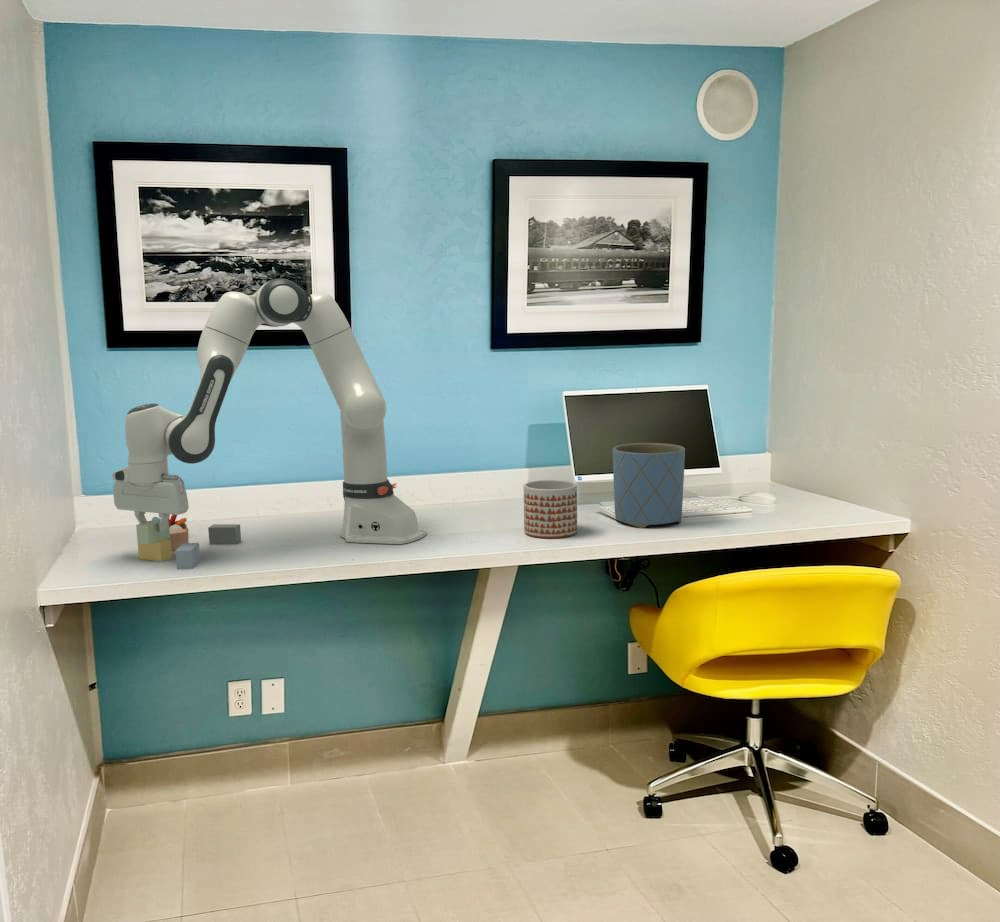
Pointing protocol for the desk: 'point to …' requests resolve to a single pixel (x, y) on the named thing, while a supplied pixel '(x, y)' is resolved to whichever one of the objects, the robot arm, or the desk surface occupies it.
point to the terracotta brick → (178, 538)
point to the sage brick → (151, 532)
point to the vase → (550, 508)
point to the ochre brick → (155, 550)
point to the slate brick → (187, 555)
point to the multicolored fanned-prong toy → (175, 523)
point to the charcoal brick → (224, 534)
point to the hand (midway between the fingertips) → (153, 530)
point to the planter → (648, 483)
